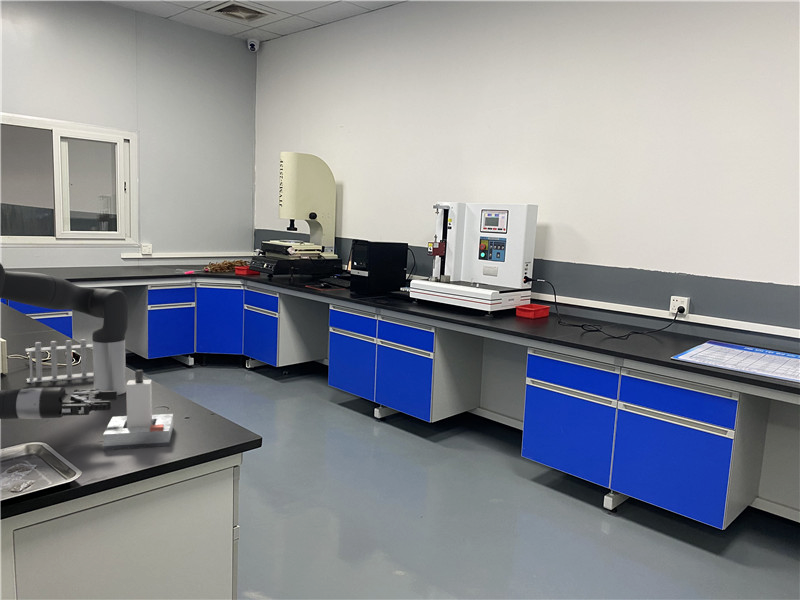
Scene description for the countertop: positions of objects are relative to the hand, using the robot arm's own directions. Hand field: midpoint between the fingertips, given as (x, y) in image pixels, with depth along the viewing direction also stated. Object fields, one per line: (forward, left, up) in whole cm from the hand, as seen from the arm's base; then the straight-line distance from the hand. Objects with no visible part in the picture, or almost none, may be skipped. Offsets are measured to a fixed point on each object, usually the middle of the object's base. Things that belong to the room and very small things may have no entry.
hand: (114, 400), depth 150 cm
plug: (0, +6, -9) cm, 11 cm away
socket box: (0, +6, -10) cm, 12 cm away
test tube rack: (-61, -24, -11) cm, 67 cm away
